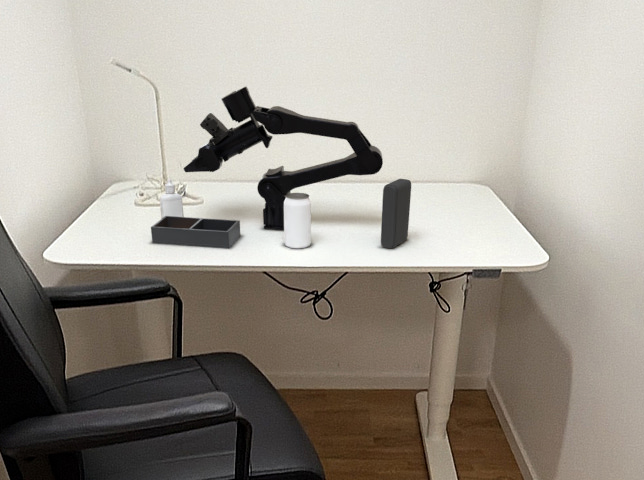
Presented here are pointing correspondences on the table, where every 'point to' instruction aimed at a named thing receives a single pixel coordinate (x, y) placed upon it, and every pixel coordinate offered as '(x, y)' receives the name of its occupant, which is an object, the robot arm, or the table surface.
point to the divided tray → (196, 231)
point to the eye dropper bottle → (171, 202)
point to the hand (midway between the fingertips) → (188, 166)
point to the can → (297, 220)
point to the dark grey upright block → (395, 212)
